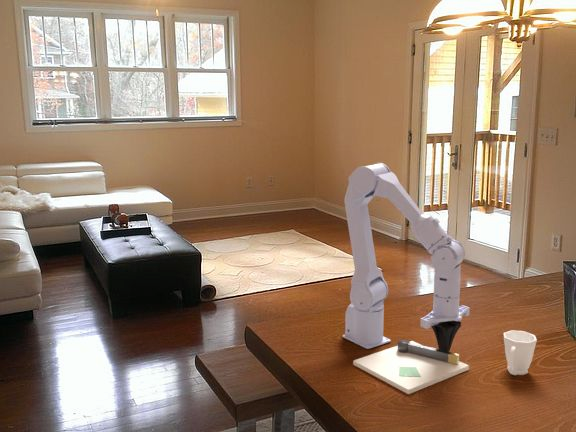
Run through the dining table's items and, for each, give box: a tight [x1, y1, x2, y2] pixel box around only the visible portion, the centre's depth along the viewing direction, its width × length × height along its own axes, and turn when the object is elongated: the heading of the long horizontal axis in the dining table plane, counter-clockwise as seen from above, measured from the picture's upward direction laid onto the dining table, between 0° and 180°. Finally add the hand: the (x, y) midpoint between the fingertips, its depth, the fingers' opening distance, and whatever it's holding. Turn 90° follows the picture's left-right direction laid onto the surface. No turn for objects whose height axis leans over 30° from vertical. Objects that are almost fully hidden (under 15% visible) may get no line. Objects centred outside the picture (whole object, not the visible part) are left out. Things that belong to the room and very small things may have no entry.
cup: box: [503, 329, 538, 376], centre depth 126 cm, size 7×10×8 cm
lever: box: [397, 339, 460, 365], centre depth 133 cm, size 14×3×2 cm, turn 55°
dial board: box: [352, 340, 470, 395], centre depth 130 cm, size 17×19×1 cm
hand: (444, 350), depth 134 cm, fingers closed
